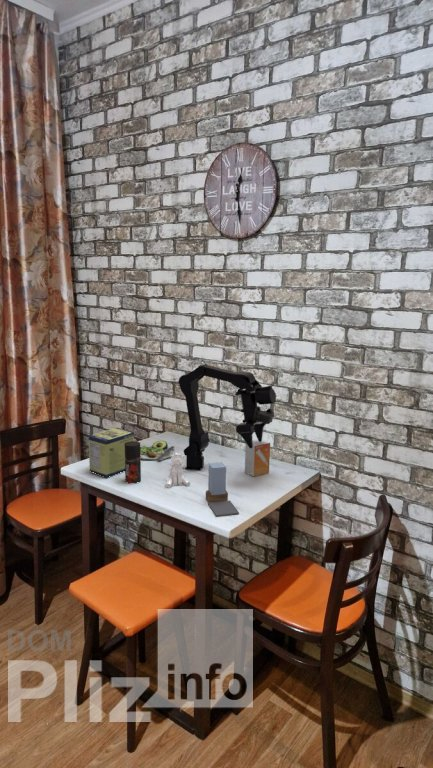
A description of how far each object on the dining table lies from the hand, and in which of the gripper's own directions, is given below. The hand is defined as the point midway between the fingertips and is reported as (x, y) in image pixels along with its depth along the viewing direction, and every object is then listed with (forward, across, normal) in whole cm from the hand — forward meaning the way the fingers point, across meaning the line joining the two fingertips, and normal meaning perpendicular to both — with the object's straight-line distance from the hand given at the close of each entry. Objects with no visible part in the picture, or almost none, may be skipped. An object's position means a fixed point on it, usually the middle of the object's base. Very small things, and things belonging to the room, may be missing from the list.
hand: (255, 444), depth 203 cm
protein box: (+4, -19, +57) cm, 60 cm away
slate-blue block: (+10, -24, +7) cm, 27 cm away
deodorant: (+6, -24, +43) cm, 49 cm away
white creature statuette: (+9, -18, +27) cm, 34 cm away
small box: (+14, +7, +5) cm, 16 cm away
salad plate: (+5, +6, +53) cm, 54 cm away
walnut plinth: (+13, -24, +7) cm, 28 cm away
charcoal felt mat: (+14, -30, +2) cm, 33 cm away
